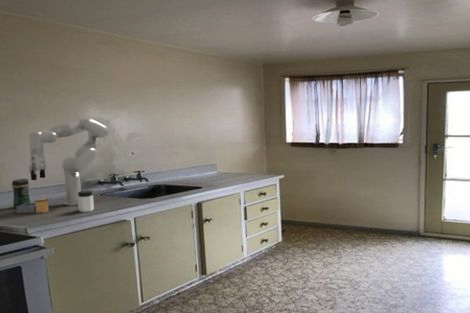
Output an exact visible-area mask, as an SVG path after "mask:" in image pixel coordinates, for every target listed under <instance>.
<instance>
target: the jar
mask: <svg viewBox="0 0 470 313" xmlns="http://www.w3.org/2000/svg"><path fill="white" fill-rule="evenodd" d="M94 203H95V202H94V195H93V190H90V189H88V190H81V191H80V192H78V205H77V206H78V211H79V212H80V213H88V212H92V211H93V210H95V206H94Z"/></svg>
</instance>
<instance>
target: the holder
mask: <svg viewBox="0 0 470 313" xmlns="http://www.w3.org/2000/svg"><path fill="white" fill-rule="evenodd" d="M15 209H16V214H27V213H36V202H35V201H33V202H31V201H30V202H29V203H24V204H21V205H19V206H17V207H16V208H15Z"/></svg>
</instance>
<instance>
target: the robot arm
mask: <svg viewBox="0 0 470 313" xmlns="http://www.w3.org/2000/svg"><path fill="white" fill-rule="evenodd" d="M83 132H87V135H88V137H87V140H86V141H85V143H84V144H82V145H81V146H80V147H79V148H77V150H76V152H75V154H74V155H75V157H73V156H68V157H66V158H64V159H63V161H62V163H61V164H62V171H63V173H64V174H63V175H64V183H65V184H64V185H65V186H64V187H65V195H66V196H65V199H66V200H65V201H64V203H63V204H64V206H78V192H80V191H82V186H81V174H80V173H82V172H83V171H85V170H86V169H88V167H89V166H90V165H92V163H94V162H95V161H96V158H97V157H98V152H97V149H98V148H99V146H100V139H104V138H107V137H108V136H109V129H108V127H107V126H106V125H104V124H102V123H100V122H98V121H97V120H95V119H91V118H79V119H77V120H73V121H71V122H67V123H64V124H60V125H56V126H53V127H50V128H46V129H44V130H41V131H30V132H29V134H28V140H29V155H30V156H29V157H30V158H29V166H28V170H29V173H30V180H31V181H37V180H38V179H37V178H38V177H37V171H39V178H40V179H41V178H42V179H45V178H46V168H47V165H46V157H45V153H44V143H45V144H52V143H55V142H56V141H57V139H60V138H67V137H68V138H69V137H72V136H74V135H77V134H81V133H83Z"/></svg>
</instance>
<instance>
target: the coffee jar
mask: <svg viewBox="0 0 470 313" xmlns="http://www.w3.org/2000/svg"><path fill="white" fill-rule="evenodd" d="M29 186H30V183H29V179H28V178H19V179H14V180H12V183H11V187H12V190H13V208H15V209H17V208H16V207H17V206H19V205H21V204H24V203H29V202H31V199H30V194H29V193H30V192H29Z"/></svg>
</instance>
